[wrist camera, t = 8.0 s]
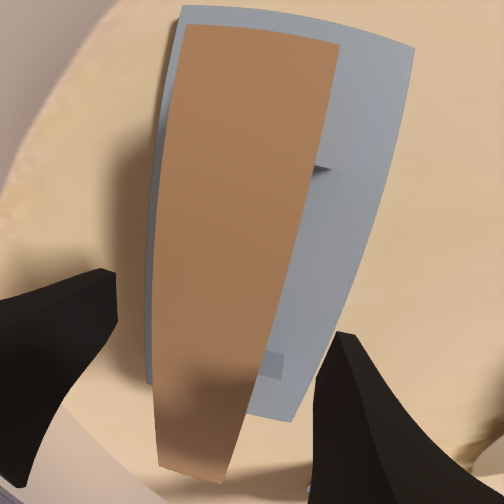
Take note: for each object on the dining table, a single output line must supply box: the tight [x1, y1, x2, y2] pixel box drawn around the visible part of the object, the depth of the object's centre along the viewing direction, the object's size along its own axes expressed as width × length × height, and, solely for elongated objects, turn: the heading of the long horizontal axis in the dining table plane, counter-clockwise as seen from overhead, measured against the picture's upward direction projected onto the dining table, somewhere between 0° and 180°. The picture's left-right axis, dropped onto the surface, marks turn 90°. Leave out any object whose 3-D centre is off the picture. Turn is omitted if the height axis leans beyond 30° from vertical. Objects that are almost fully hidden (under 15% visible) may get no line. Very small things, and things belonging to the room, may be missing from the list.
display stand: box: [145, 5, 415, 423], centre depth 14 cm, size 22×10×3 cm, turn 169°
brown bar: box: [152, 24, 340, 485], centre depth 10 cm, size 16×3×5 cm, turn 169°
